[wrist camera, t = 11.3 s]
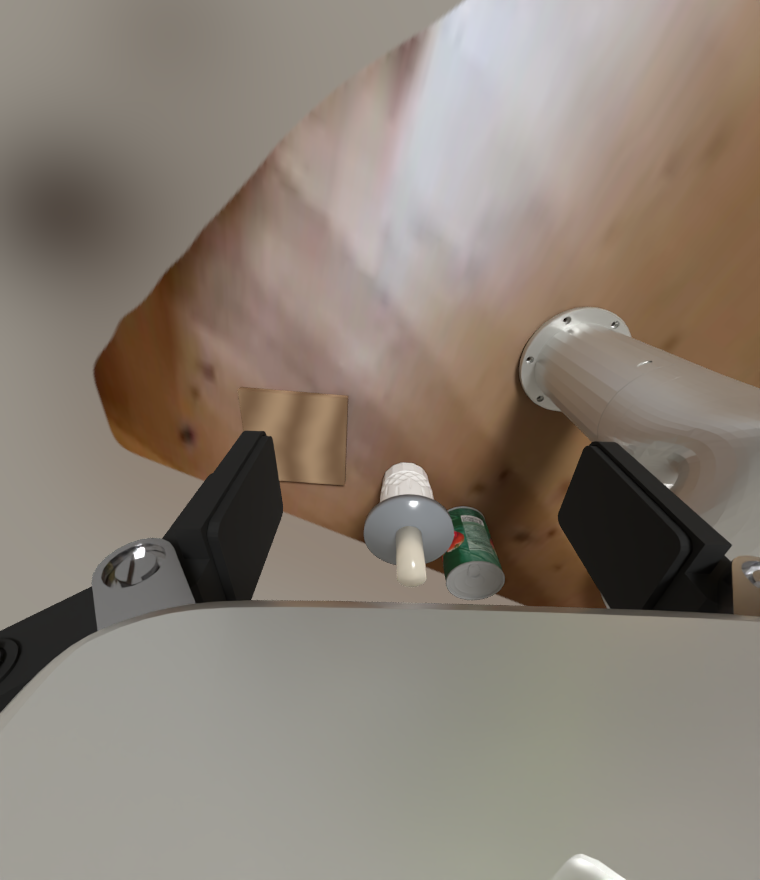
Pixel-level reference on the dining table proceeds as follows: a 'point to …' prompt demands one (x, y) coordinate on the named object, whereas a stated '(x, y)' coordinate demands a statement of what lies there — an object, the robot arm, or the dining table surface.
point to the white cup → (405, 481)
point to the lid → (409, 534)
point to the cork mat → (300, 431)
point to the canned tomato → (471, 557)
